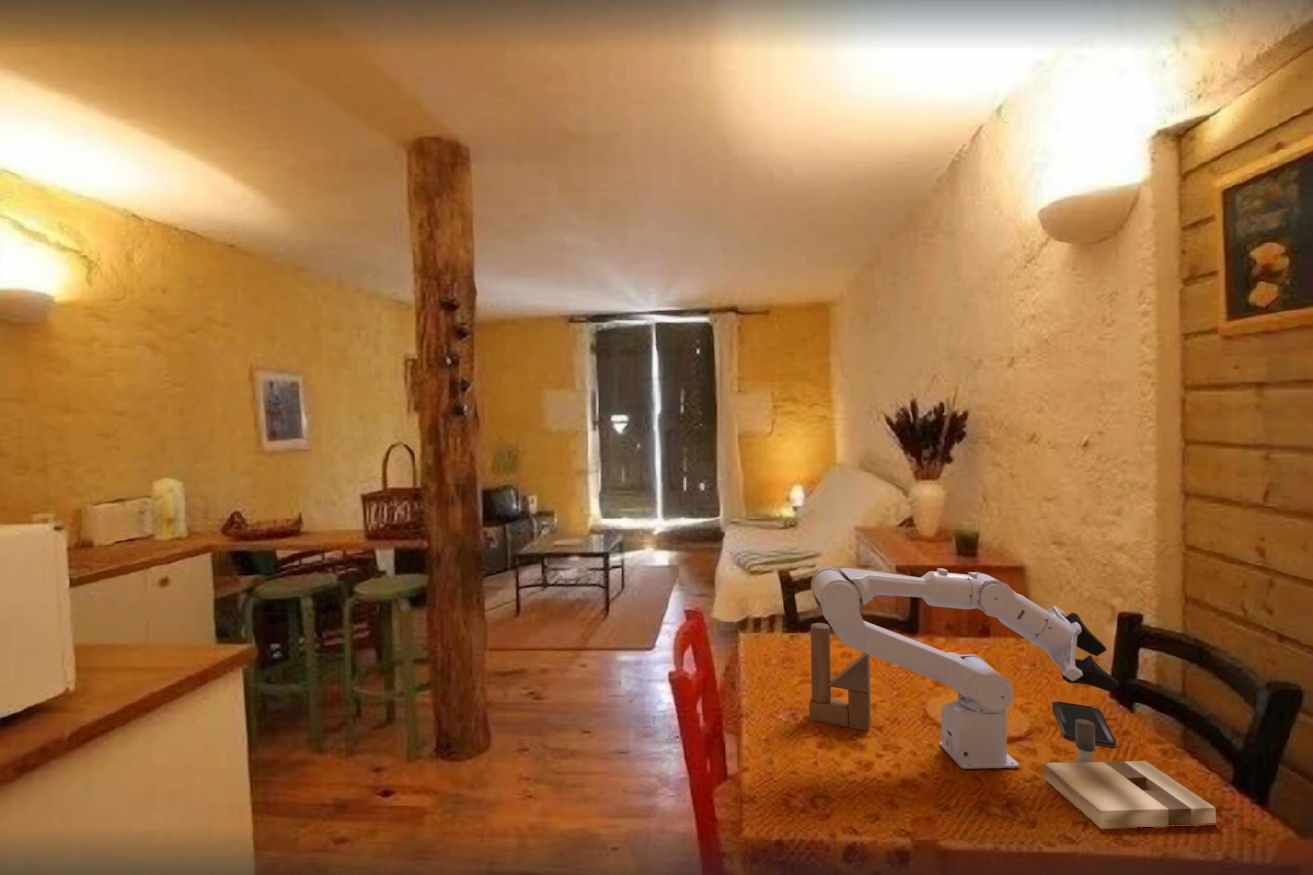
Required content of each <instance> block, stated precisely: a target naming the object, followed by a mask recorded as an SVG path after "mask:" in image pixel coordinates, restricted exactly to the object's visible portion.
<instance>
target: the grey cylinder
mask: <svg viewBox="0 0 1313 875" xmlns="http://www.w3.org/2000/svg"><path fill="white" fill-rule="evenodd" d="M1075 728H1076V739H1075V740H1076V741H1075V747H1076V748H1077V763H1078V762H1094V751H1096V745H1095V724H1094V723H1093V722H1091V721H1088V720H1084V719H1077V720H1076V721H1075Z"/></svg>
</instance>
